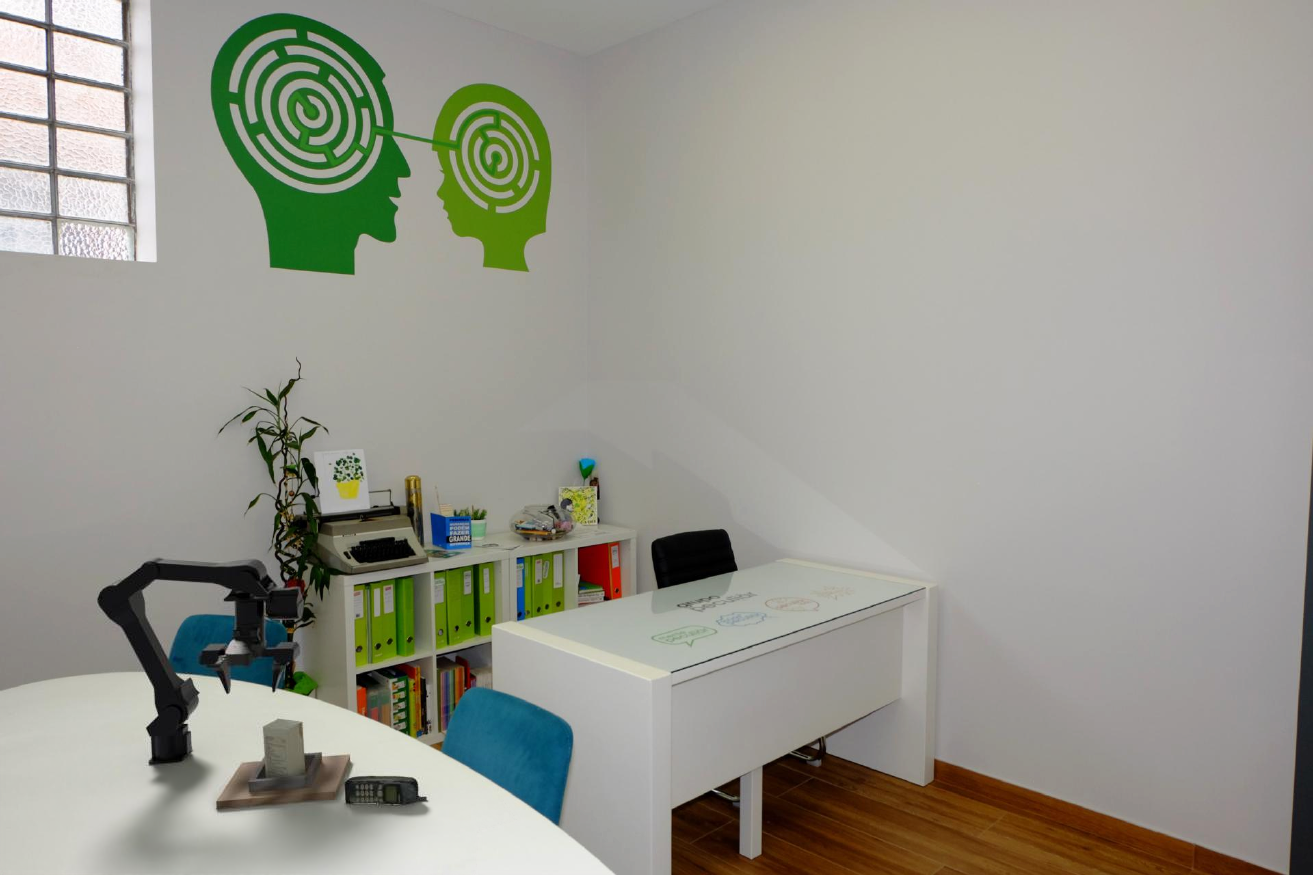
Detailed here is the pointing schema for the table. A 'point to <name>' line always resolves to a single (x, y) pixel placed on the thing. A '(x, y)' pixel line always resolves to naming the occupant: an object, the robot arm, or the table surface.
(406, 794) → the mobile phone
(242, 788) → the serum stand
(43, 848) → the table surface
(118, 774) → the table surface
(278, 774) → the skincare box
